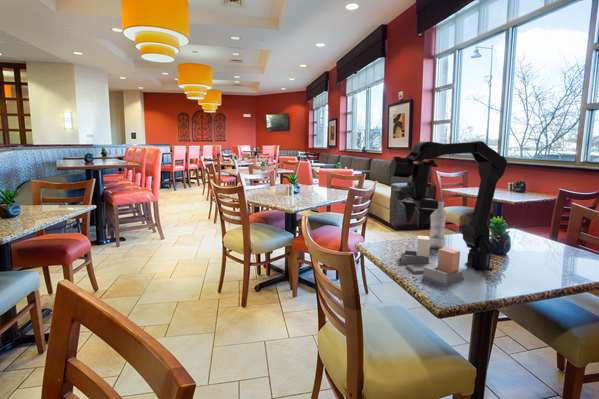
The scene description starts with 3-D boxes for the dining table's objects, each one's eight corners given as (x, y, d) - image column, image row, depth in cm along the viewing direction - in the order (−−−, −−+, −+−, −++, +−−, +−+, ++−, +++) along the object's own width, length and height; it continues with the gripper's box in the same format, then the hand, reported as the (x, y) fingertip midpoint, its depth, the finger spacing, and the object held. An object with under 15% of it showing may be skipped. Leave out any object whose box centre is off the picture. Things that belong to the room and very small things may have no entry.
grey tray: (423, 255, 135) (424, 246, 134) (473, 285, 106) (474, 272, 105) (391, 257, 133) (392, 247, 132) (433, 287, 104) (434, 275, 103)
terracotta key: (444, 270, 115) (445, 247, 113) (458, 275, 111) (460, 251, 109) (436, 273, 112) (438, 249, 111) (451, 277, 108) (452, 253, 107)
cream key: (427, 257, 129) (428, 236, 128) (428, 261, 124) (430, 239, 123) (416, 256, 130) (417, 235, 129) (416, 260, 125) (418, 238, 124)
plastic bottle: (434, 251, 141) (438, 203, 138) (424, 246, 148) (427, 200, 145) (448, 249, 143) (451, 202, 140) (437, 245, 149) (440, 200, 147)
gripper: (386, 175, 123) (381, 217, 125) (408, 180, 105) (401, 229, 107) (416, 177, 125) (410, 219, 127) (442, 183, 106) (435, 232, 108)
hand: (413, 224), depth 117 cm, fingers open, 9 cm apart
